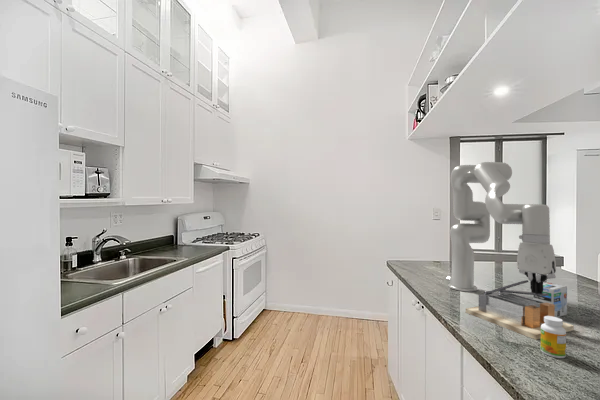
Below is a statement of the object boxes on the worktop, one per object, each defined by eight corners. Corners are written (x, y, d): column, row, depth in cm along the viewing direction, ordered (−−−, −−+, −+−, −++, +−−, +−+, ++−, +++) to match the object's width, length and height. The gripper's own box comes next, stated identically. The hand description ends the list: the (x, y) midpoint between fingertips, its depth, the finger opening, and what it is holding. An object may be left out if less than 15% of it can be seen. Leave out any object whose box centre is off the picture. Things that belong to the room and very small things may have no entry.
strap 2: (498, 292, 114) (498, 289, 115) (503, 291, 115) (502, 288, 116) (544, 297, 100) (543, 293, 100) (549, 296, 101) (548, 292, 101)
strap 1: (484, 295, 111) (483, 292, 112) (490, 294, 112) (488, 291, 113) (524, 283, 99) (522, 280, 99) (529, 282, 100) (527, 279, 100)
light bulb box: (553, 319, 108) (554, 289, 108) (532, 312, 114) (532, 284, 114) (567, 314, 113) (568, 285, 113) (546, 308, 119) (546, 281, 119)
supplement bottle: (535, 349, 85) (535, 314, 85) (552, 348, 86) (553, 314, 86) (552, 359, 80) (553, 322, 80) (571, 358, 80) (571, 322, 80)
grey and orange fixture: (478, 310, 112) (478, 293, 112) (503, 305, 117) (503, 289, 117) (530, 329, 95) (530, 309, 95) (556, 322, 101) (556, 304, 101)
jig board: (465, 312, 113) (465, 308, 113) (500, 306, 121) (500, 302, 121) (536, 339, 91) (536, 334, 91) (573, 330, 99) (573, 325, 99)
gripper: (506, 238, 109) (507, 288, 109) (554, 242, 96) (555, 300, 95) (519, 237, 112) (520, 287, 112) (568, 241, 98) (569, 297, 98)
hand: (536, 292), depth 103 cm, fingers closed
